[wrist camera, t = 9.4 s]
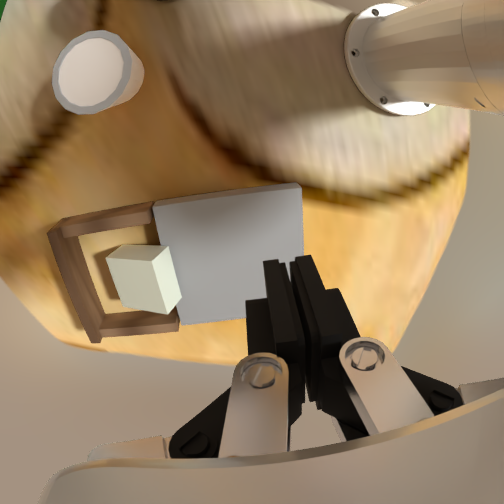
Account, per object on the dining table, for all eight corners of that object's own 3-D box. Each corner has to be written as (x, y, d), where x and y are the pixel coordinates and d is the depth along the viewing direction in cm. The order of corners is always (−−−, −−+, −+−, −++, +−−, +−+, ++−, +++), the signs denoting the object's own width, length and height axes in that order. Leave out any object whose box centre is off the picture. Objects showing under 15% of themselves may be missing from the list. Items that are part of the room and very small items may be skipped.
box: (153, 201, 30) (144, 215, 27) (180, 315, 37) (177, 337, 33) (62, 218, 30) (46, 233, 26) (100, 322, 36) (91, 343, 33)
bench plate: (296, 182, 31) (301, 187, 29) (300, 299, 37) (304, 309, 36) (156, 200, 30) (152, 207, 29) (182, 314, 37) (181, 325, 35)
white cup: (160, 49, 24) (144, 35, 18) (139, 117, 27) (117, 122, 20) (95, 40, 22) (65, 26, 16) (76, 105, 25) (42, 109, 19)
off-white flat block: (168, 246, 30) (151, 261, 28) (181, 297, 33) (167, 314, 30) (122, 244, 32) (105, 257, 30) (137, 291, 35) (122, 306, 32)
